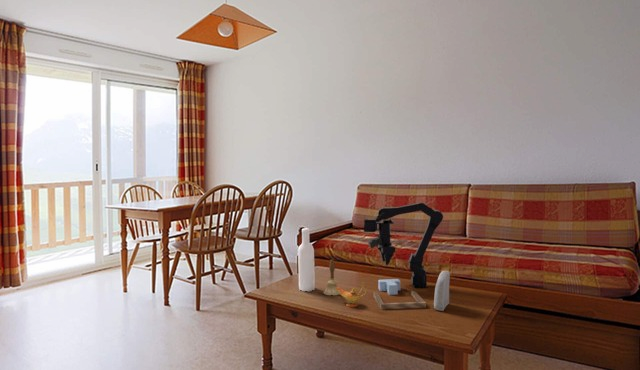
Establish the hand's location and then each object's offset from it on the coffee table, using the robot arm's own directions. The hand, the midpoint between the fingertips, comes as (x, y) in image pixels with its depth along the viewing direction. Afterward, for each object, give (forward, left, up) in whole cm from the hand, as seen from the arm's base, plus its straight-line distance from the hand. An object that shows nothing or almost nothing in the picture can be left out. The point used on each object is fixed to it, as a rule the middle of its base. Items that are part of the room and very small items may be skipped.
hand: (385, 263), depth 193 cm
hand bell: (+28, +10, -11) cm, 32 cm away
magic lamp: (+22, +26, -11) cm, 36 cm away
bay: (0, +25, -11) cm, 27 cm away
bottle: (+40, +3, -11) cm, 42 cm away
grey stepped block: (0, +10, -11) cm, 15 cm away
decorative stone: (-16, +34, -11) cm, 39 cm away
